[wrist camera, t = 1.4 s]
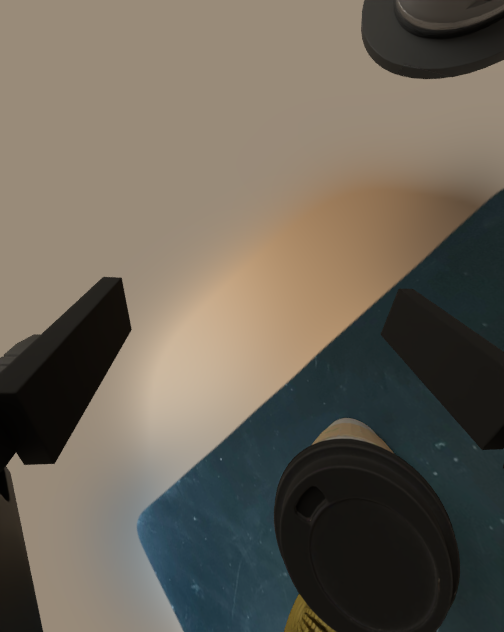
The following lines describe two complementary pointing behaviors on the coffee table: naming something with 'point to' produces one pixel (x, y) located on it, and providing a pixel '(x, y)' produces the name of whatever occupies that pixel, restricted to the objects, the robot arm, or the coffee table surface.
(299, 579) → the coffee cup
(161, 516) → the coffee table surface
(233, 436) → the coffee table surface
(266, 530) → the coffee table surface
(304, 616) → the sculpture
